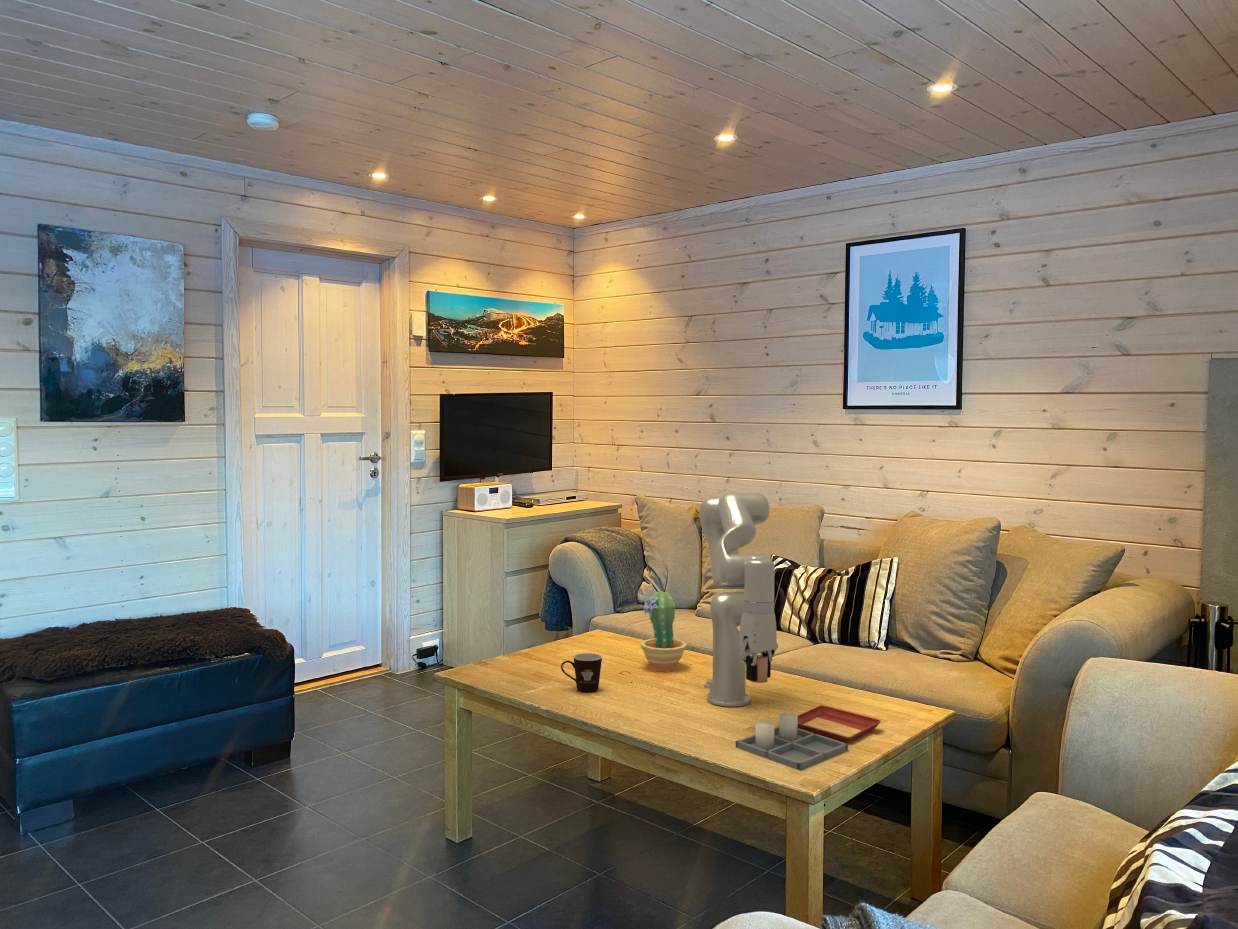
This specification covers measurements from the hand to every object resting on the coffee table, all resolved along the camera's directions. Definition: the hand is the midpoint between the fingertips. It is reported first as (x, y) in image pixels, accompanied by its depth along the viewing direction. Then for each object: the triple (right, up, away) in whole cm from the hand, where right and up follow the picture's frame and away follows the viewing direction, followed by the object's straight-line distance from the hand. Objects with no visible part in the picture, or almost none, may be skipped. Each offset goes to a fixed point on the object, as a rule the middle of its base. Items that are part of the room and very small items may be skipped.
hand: (758, 677), depth 233 cm
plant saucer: (+21, -16, +8) cm, 28 cm away
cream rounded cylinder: (+7, -15, -1) cm, 17 cm away
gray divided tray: (+7, -16, -8) cm, 19 cm away
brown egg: (0, -1, 0) cm, 1 cm away
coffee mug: (-46, -13, +42) cm, 64 cm away
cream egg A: (0, -16, -7) cm, 17 cm away
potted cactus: (-21, -12, +66) cm, 71 cm away
